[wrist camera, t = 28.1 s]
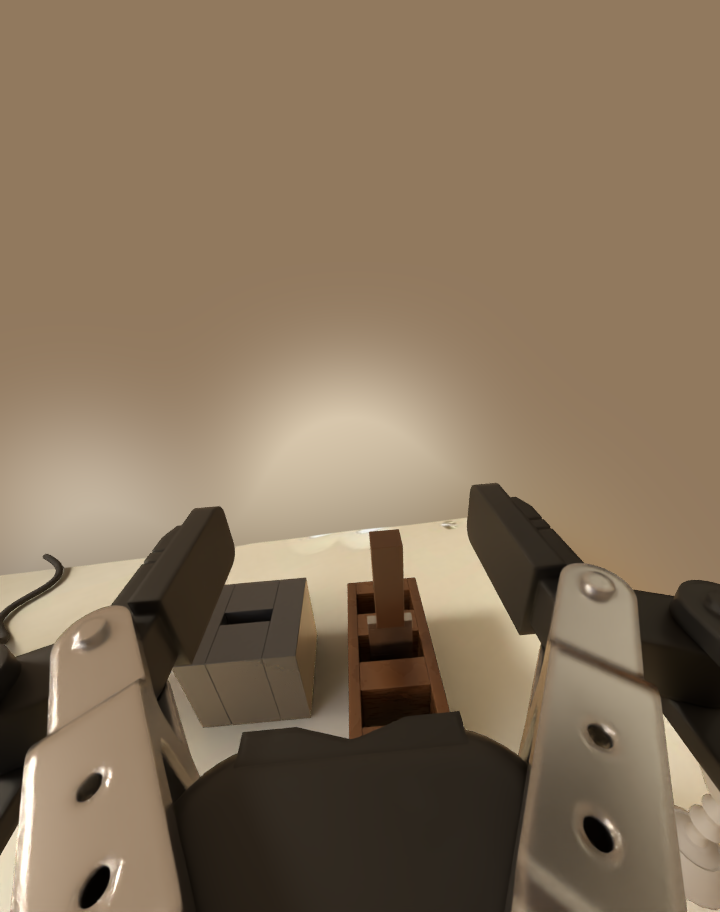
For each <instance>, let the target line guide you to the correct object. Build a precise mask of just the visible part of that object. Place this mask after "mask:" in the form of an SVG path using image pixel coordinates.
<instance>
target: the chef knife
mask: <svg viewBox="0 0 720 912" xmlns="http://www.w3.org/2000/svg"><path fill="white" fill-rule="evenodd" d="M369 537H370V550H371V562H372V575H373V588H374V601H375V613H376V615H374V616H367V624H368V634H369V645H370V655H371V661H382V660H393V659H404V658H413V636H412V615H411V612H408V613H404V579H403V545H402V541H401V536H400V532H399V529H396V530H385V531H373V532H369Z"/></svg>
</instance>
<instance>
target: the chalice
mask: <svg viewBox="0 0 720 912" xmlns="http://www.w3.org/2000/svg"><path fill="white" fill-rule="evenodd" d="M699 765H700V764H699ZM700 768H701V771H702V775H703V778H704V781H705V784H706V787H707V789H708V791H709V793H710V794H705V795H703V797H702V801H701V802H702V805H703V806H700V805H692V806H691V807H690V808H689V812H688V811H687V810H685V809H683V808H680V807H678V806H676V805H674V810H675V818H676V826H677V834H678V842H679V850H680V858H681V866H682V874H683V882H684V891H685V898H686V899H688V900H690V901H692V902H693V903H695V904H697V905H699V906H701V907H704V908H710V909H715V910H717V909H719V908H720V845H719V843H720V792H719V790H718V789H717V787H716V786H715V785H714V783H713V782H712V781H711V779H710V778H709V776H708V775H707V774H706V772H705V771H704V770H703V768H702V767H701V765H700Z"/></svg>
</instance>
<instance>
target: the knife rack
mask: <svg viewBox="0 0 720 912" xmlns="http://www.w3.org/2000/svg"><path fill="white" fill-rule="evenodd" d="M347 587H348V673H349V739H354V738H357V737H360V736H362V735H364V734H367V733H369V732H371V731H374V730H376V729H378V728H381V727H383V726H385V725H387V724H390V723H392V722H394V721H397V720H399V719H401V718H404V717H406V716H414V715H424V714H435V713H445V712H450V711H449V707H448V703H447V699H446V695H445V691H444V688H443V684H442V680H441V676H440V672H439V668H438V664H437V660H436V657H435V653H434V649H433V645H432V641H431V637H430V633H429V629H428V626H427V622H426V618H425V614H424V610H423V606H422V602H421V598H420V595H419V591H418V587H417V583H416V579H415V578H404V613H408V612H411V615H412V636H413V658H404V659H393V660H382V661H371V655H370V645H369V634H368V624H367V616H374V615H376V613H375V601H374V588H373V581H370V582H359V583H348V584H347Z"/></svg>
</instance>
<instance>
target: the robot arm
mask: <svg viewBox="0 0 720 912" xmlns="http://www.w3.org/2000/svg"><path fill="white" fill-rule="evenodd" d="M467 532H468V537H469V540H470V543H471V545H472V547H473V549H474V550H475V552H476V554H477V556H478V558H479V560H480V562H481V564H482V565H483V567H484V569H485V571H486V573H487V575H488V577H489V579H490V580H491V582H492V584H493V586H494V588H495V590H496V592H497V594H498V595H499V597H500V599H501V601H502V603H503V605H504V607H505V609H506V610H507V612H508V614H509V616H510V618H511V620H512V622H513V624H514V625H515V627H516V629H517V631H518V633H519V635H527V634H536V635H537V637H538V638H539V640H540V642H541V645H540V649H539V653H538V659H537V664H536V669H535V675H534V680H533V685H532V691H531V696H530V701H529V706H528V712H527V717H526V722H525V726H524V731H523V735H522V739H521V743H520V748H519V753H518V755H517V754H516V753H514V752H513V751H511V750H510V749H508V748H507V747H505V746H503V745H502V744H500V743H498V742H496V741H494V740H492V739H490V738H488V737H486V736H484V735H481V734H478V733H475V732H472V731H468V730H465V729H464V726H463V722H462V719H461V715H460V712H459V711H455V712H445V713H435V714H424V715H414V716H406V717H404V718H401V719H399V720H397V721H394V722H392V723H390V724H387V725H385V726H383V727H381V728H378V729H376V730H374V731H371V732H369V733H367V734H364V735H362V736H360V737H357V738H354V739H346V738H342V737H337V736H333V735H329V734H324V733H320V732H315V731H311V730H307V729H302V728H298V727H292V728H282V729H272V730H262V731H252V732H243V733H242V737H241V742H240V746H239V751H238V753H237V754H235V755H233V756H231V757H229V758H227V759H225V760H224V761H222V762H220V763H218V764H217V765H216V766H214V767H213V768H211V769H210V770H209V771H207V772H206V773H205V774H203V775H202V776H201V777H200V776H199V773H198V771H197V769H196V766H195V764H194V762H193V759H192V757H191V754H190V751H189V748H188V744H187V741H186V738H185V734H184V731H183V727H182V724H181V720H180V717H179V713H178V710H177V706H176V703H175V699H174V696H173V692H172V689H171V685H170V683H169V681H168V677H169V675H170V673H171V670H172V668H173V666H184V665H192V663H193V660H194V658H195V655H196V653H197V650H198V648H199V645H200V643H201V641H202V638H203V636H204V633H205V631H206V628H207V626H208V624H209V621H210V619H211V616H212V614H213V611H214V609H215V607H216V604H217V602H218V599H219V597H220V594H221V592H222V590H223V587H224V585H225V582H226V580H227V577H228V575H229V572H230V570H231V568H232V565H233V562H234V557H235V547H234V543H233V539H232V536H231V533H230V530H229V526H228V523H227V520H226V517H225V513H224V511H223V509H222V508H221V507H219V506H218V507H205V508H195V509H193V510H192V512H191V513H190V514H189V516H188V517H187V519H186V520H185V521H184V523H183V524H182V525H181V526H176V527H175V528H174V529H173V530H171V531H170V532H169V533H167V534H166V535H165V536H164V537H163V538H161V540H160V541H159V542H158V544H157V545H156V546H155V548H154V549H153V552H152V553H150V554H149V556H148V557H147V558H146V560H145V561H144V564H142V565H141V566H140V568H139V569H138V570H137V572H136V573H135V574H134V576H133V577H132V578H131V580H130V581H129V582H128V583H127V585H126V586H125V587H124V589H123V590H122V591H121V593H120V594H119V595H118V597H117V598H116V599H115V601H114V602H113V603H112V605H111V606H108V607H104V608H101V609H98V610H96V611H93V612H91V613H89V614H87V615H85V616H84V617H82V618H81V619H79V620H78V621H76V622H75V623H74V624H72V625H71V626H70V627H69V628H68V629H66V630H65V631H64V632H63V634H62V635H61V636H60V637H59V638H58V639H57V641H56V643H55V644H52V645H49V646H46V647H43V648H40V649H37V650H34V651H31V652H28V653H26V654H23V655H20V656H17V657H15V656H14V655H13V654H12V653H11V652H10V651H9V649H8V648H7V647H6V646H5V645H3V644H4V643H5V642H7V640H8V639H9V633H8V631H7V630H6V629H5V627H4V625H3V621H4V619H5V617H6V616H7V615H8V614H9V613H10V612H11V611H13V610H14V609H15V608H17V607H18V606H20V605H21V604H23V603H25V602H26V601H28V600H30V599H32V598H33V597H35V596H37V595H39V594H40V593H42V592H44V591H45V590H47V589H48V588H50V587H51V586H53V585H54V584H55V583H56V582H57V581H58V580H59V579H60V578H61V576H62V574H63V568H64V567H63V566H62V565H61V563H60V562H59V561H58V560H57V559H56V558H54V557H53V556H51V555H49V554H45V555H43V558H44V559H45V560H47V561H48V562H50V563H51V564H52V565H53V566H54V567H55V569H56V573H55V575H54V577H53V578H52V579H51V580H50V581H49V582H47V583H46V584H44V585H43V586H41V587H39V588H38V589H36V590H34V591H32V592H31V593H29V594H27V595H25V596H24V597H22V598H20V599H18V600H17V601H15V602H13V603H12V604H11V605H9V606H8V607H6V608H5V609H4V610H3V611H2V612H1V613H0V855H1V853H2V851H3V850H4V848H5V846H6V844H7V843H8V841H9V839H10V837H11V836H12V834H13V832H14V830H15V829H16V827H17V825H18V834H17V845H16V856H15V866H14V877H13V887H12V898H11V909H10V912H687V907H686V899H685V891H684V882H683V874H682V866H681V858H680V850H679V842H678V834H677V826H676V818H675V810H674V802H673V793H672V785H671V777H670V769H669V761H668V753H667V745H666V737H665V729H664V721H663V714H664V716H665V717H666V718H667V720H668V721H669V722H670V724H671V725H672V727H673V728H674V729H675V731H676V732H677V734H678V735H679V736H680V738H681V739H682V740H683V742H684V743H685V745H686V746H687V747H688V749H689V750H690V752H691V753H692V754H693V756H694V757H695V758H696V760H697V761H698V763H699V764H700V765H701V767H702V768H703V770H704V771H705V772H706V774H707V775H708V776H709V778H710V779H711V781H712V782H713V783H714V785H715V786H716V787H717V789H718V790H719V792H720V584H717V583H713V582H709V581H702V580H690V581H686V582H683V583H682V584H681V585H680V586H679V588H678V590H677V592H676V594H675V596H670V595H664V594H657V593H651V592H645V591H638V590H633V589H632V588H631V587H630V586H629V585H628V584H627V583H626V582H625V581H624V580H623V579H622V578H620V577H619V576H617V575H616V574H614V573H612V572H610V571H608V570H606V569H604V568H601V567H598V566H594V565H590V564H585V563H584V562H583V561H582V560H581V559H580V558H579V557H578V556H577V555H576V554H575V553H574V552H573V551H572V549H571V548H570V547H569V546H568V545H567V544H566V543H565V542H564V541H563V540H562V539H561V537H560V536H559V535H558V534H557V533H556V532H555V531H554V530H553V529H551V528H550V526H549V524H548V523H547V522H546V521H545V520H544V519H542V517H541V516H540V515H539V514H538V513H537V512H536V510H535V509H534V508H533V507H532V506H530V505H529V504H527V503H525V502H524V501H522V500H520V499H519V498H517V497H509V495H507V493H506V492H505V491H504V490H503V489H502V487H501V486H500V485H499V484H497V483H490V484H479V485H473V486H472V487H471V490H470V498H469V508H468V519H467Z"/></svg>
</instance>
